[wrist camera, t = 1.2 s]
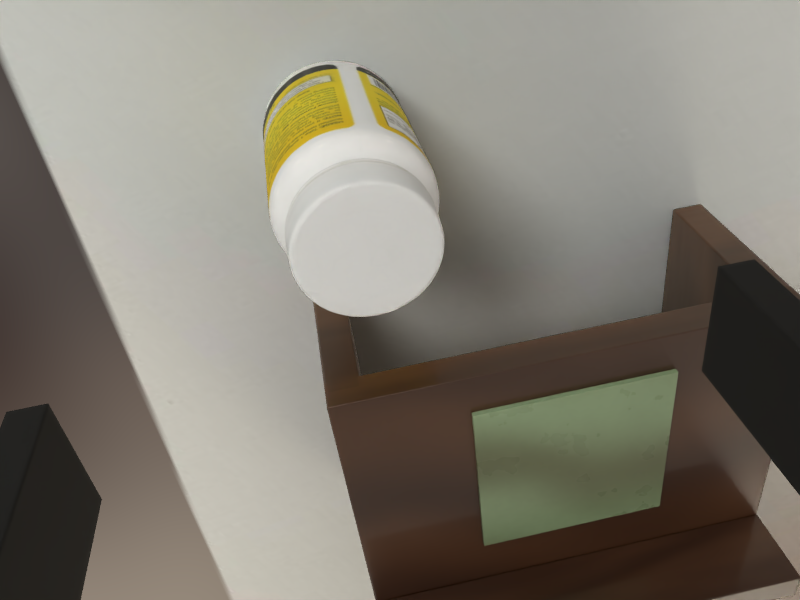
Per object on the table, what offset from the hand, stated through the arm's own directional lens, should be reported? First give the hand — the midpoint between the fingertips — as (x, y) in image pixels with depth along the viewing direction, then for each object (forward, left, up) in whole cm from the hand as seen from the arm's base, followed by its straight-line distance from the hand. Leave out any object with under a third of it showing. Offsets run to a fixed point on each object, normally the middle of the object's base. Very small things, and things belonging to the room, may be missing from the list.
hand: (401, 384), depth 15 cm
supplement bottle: (0, 0, -13) cm, 13 cm away
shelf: (+12, +6, -13) cm, 19 cm away
